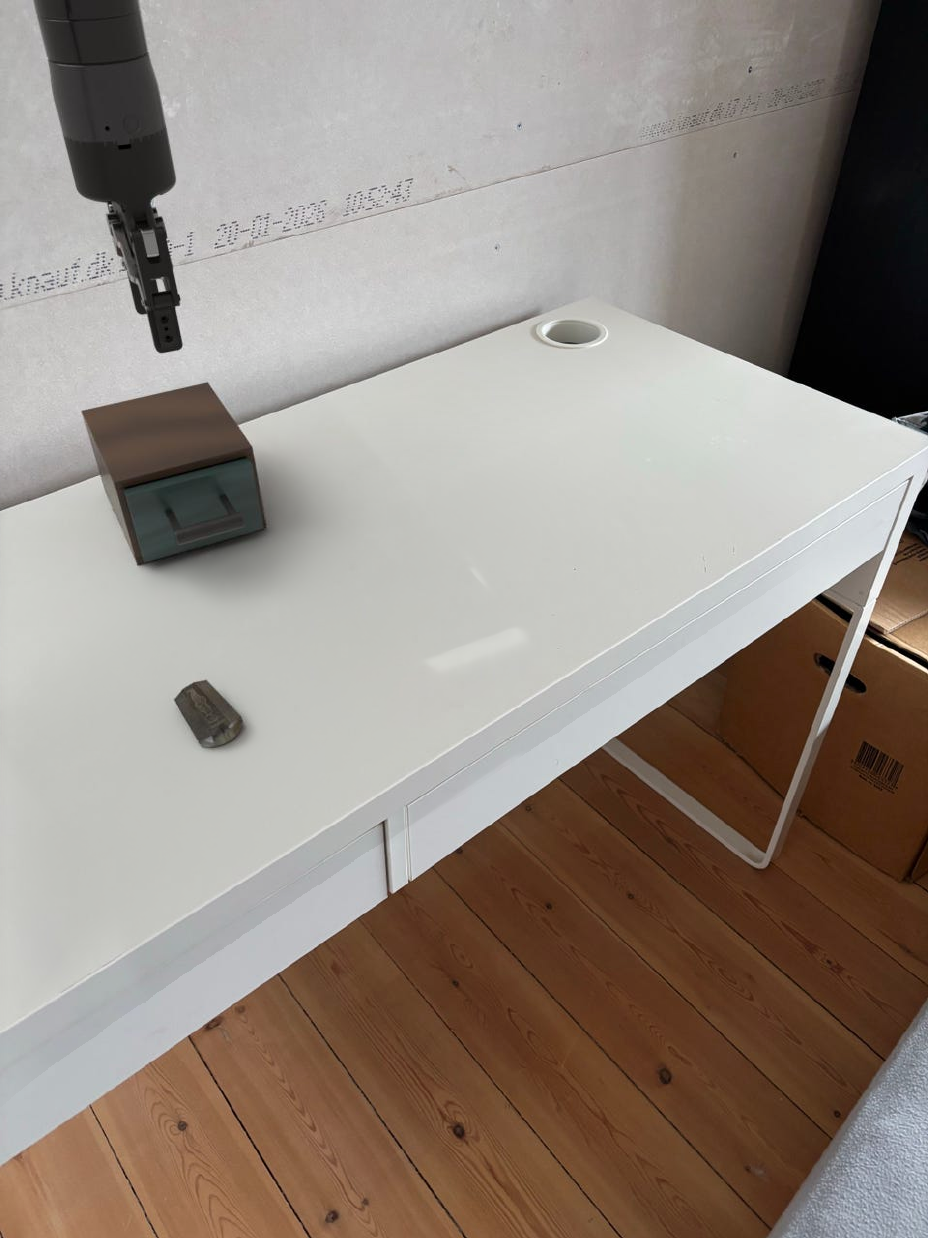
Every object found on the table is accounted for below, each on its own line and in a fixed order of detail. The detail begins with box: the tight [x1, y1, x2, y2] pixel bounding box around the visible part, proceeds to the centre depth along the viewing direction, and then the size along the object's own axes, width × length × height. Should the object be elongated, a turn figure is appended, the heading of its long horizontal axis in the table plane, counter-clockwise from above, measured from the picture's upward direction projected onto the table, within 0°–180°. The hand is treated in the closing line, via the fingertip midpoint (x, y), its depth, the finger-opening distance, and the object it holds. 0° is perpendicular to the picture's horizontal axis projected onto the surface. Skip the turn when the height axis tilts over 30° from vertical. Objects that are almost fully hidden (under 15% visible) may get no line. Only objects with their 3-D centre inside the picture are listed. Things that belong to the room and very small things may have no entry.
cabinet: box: [80, 381, 268, 566], centre depth 95 cm, size 15×13×9 cm
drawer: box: [124, 458, 264, 563], centre depth 92 cm, size 18×11×7 cm, turn 27°
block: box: [173, 679, 244, 748], centre depth 75 cm, size 4×6×2 cm, turn 40°
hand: (159, 330), depth 84 cm, fingers open, 8 cm apart
